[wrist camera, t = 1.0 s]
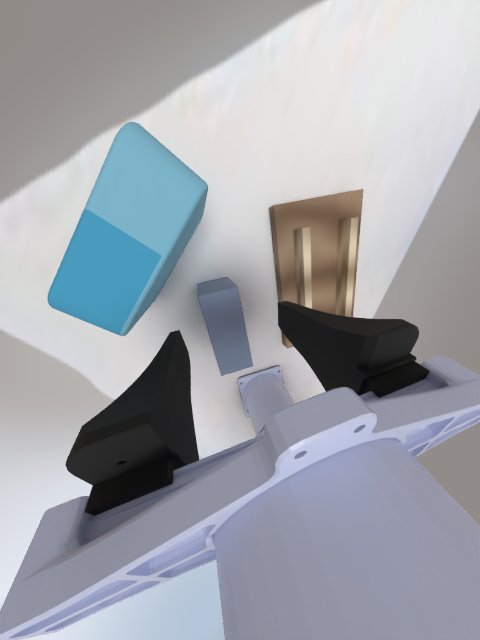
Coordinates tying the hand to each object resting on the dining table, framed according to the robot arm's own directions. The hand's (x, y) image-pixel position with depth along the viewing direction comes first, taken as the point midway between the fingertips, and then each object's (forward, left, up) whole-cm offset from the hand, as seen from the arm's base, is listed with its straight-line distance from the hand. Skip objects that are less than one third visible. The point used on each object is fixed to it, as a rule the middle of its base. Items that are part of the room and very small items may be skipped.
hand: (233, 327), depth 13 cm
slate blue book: (-4, 0, -13) cm, 13 cm away
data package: (+6, +5, -13) cm, 15 cm away
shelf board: (-2, -15, -13) cm, 20 cm away
